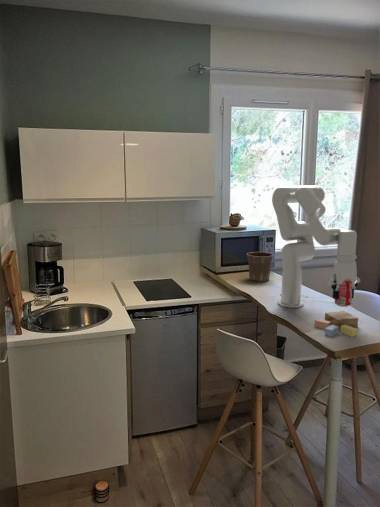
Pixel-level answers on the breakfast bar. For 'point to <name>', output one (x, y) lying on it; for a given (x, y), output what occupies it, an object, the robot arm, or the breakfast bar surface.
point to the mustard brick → (348, 330)
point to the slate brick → (331, 330)
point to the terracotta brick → (322, 323)
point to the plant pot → (259, 265)
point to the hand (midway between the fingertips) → (343, 297)
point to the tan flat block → (341, 319)
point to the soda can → (345, 294)
